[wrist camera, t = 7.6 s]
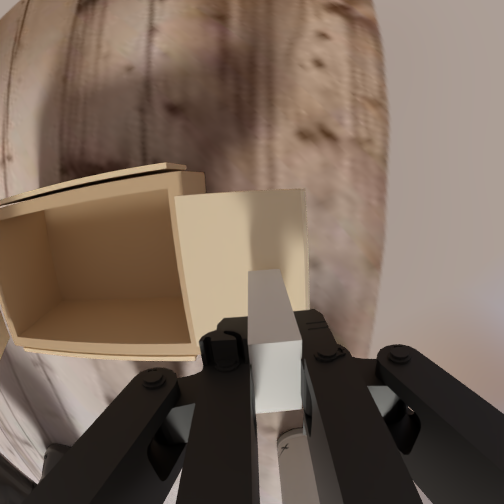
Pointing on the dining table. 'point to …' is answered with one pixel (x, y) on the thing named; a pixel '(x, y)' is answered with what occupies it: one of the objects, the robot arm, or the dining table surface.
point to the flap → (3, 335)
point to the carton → (99, 266)
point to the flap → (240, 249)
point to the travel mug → (296, 469)
